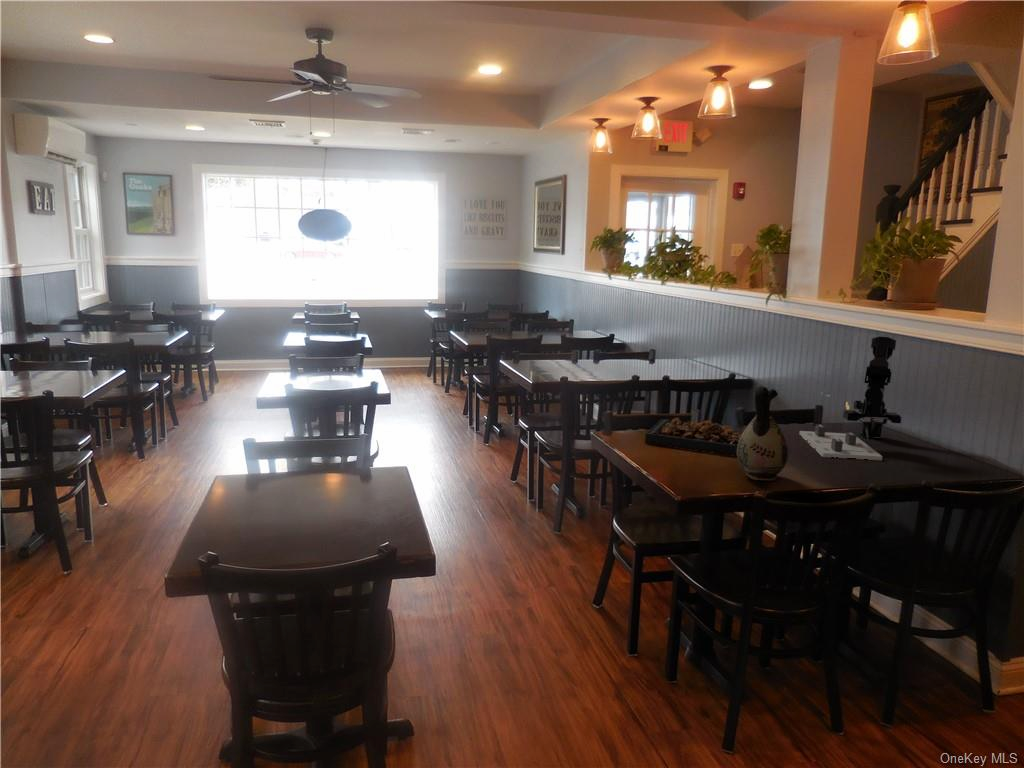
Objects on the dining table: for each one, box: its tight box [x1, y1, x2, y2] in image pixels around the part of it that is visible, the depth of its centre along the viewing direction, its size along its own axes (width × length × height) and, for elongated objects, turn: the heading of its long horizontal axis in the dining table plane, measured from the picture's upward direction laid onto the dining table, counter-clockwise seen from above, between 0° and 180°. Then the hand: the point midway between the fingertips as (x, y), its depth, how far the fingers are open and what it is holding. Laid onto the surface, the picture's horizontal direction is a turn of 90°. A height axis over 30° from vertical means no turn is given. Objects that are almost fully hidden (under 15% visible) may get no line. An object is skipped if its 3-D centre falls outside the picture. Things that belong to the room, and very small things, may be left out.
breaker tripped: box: [845, 431, 858, 445], centre depth 266 cm, size 2×4×4 cm, turn 173°
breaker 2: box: [831, 438, 843, 451], centre depth 257 cm, size 2×4×4 cm, turn 173°
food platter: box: [644, 417, 745, 457], centre depth 265 cm, size 45×25×10 cm, turn 65°
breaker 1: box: [814, 424, 826, 436], centre depth 276 cm, size 2×4×4 cm, turn 173°
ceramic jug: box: [736, 385, 789, 482], centre depth 226 cm, size 17×15×30 cm
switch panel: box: [799, 430, 883, 462], centre depth 267 cm, size 20×30×2 cm, turn 173°
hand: (868, 439), depth 265 cm, fingers closed
